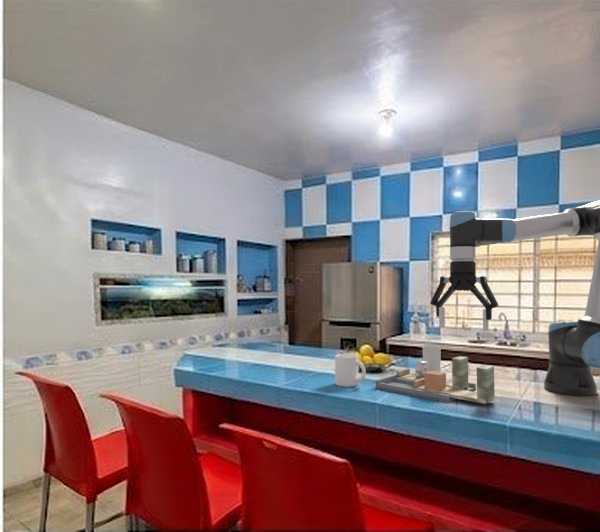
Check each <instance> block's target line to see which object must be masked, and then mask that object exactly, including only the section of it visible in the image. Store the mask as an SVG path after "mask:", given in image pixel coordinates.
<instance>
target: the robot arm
mask: <svg viewBox="0 0 600 532" xmlns="http://www.w3.org/2000/svg"><path fill="white" fill-rule="evenodd" d="M448 228H449V260H450V262H449V275H450V276H448V277H447V276H440V278H439V283H438V286H437V288H436V289H435V292H434V294H433V297H432V298H431V300H430V305H433V306H434V307H435V309H436V312H435V313H436V317H437V318H438V325H439V326H438V328H441V329H442V328H445V327H446V316H445V315H446V312H445V310H446V306H443V305H444V304H445V303H446V302H447V301H448V299H450V297H451V296H452V295H453V294H454V293H455V292H457V291H458V292H460V291H461V292H462V291H464V292H468V291H470V292H471V293H472V294H473V295H474V296H475V298H477V300H478V301H479V302H480V303H481V304H482V306H483V307H484V308H483V309H482V331H483V332H488V331H489V327H490V326H489V321H491V320H492V318H493V316H492V314H493V313H492V312H493V309H494V308H498V307H499V303H498V301H497V299H496V297H495V295H494V294H493V291H492V290H491V288H490V286H489V284H488V278H487V276H485V275H483V276H482V275H481V276H478V277H477V273H476V272H477V271H476V269H477V268H476V267H477V266H476V263H477V262H476V261H475V260H476V248H478V247H481V246H488V245H495V244H504V243H511V242H517V241H524V240H533V239H542V238H548V237H556V236H564V235H566V236H568V237H579V236H594V237H595V238H596V240H597V241H598V245H597V250H596V253H595V259H594V264H593V271H592V275H591V280H590V281H591V282H590V285H589V286H590V287H589V291H588V296H587V301H586V302H587V303H586V307H585V312H584V315H583V316H581V317H580V318H579V317H578V319H577V321H558V322H557V321H556V322H555V321H554V322H551V323H549V325H548V333H547V334H548V354H549V356H548V358H549V361H548V362H549V366H548V369H547V372H546V375H545V376H544V380H543V386H544V389H545V390H547V391H550V392H552V393H557V394H562V395H563V394H564V395H569V396H584V397H585V396H587V397H588V396H594V395H597V394H598V386H597V384H596V381H595V378H594V376H593V373H592V370H591V368H595V369H600V199H598V200H596V201H593V202H590V203H587V204H584V205H581V206H577V207H572V208H566V209H565V210H564V211H563V212H559V213H558V212H557V213H551V214H549V213H548V214H543V215H535V216H529V217H528V216H527V217H523V218H522V217H521V218H515V219H512V218H504V217H501V218H479V217H476V213H475V212H474V211H471V210H459V211H454V212H453V213H451V214H450V218H449V227H448ZM477 282H478V283H479V284H480V286H481V288H482V289H483V291H484V293H485V295H486V297H487V298H485V296H484V295H483V294H482V292H481V291H480V290H479V288H477V286H476V283H477ZM448 283H450V284H451V285H450V286H449V287H448V288H447V290H446V292H445V293H444V294H443V291H444V290H445V288H446V286H447V284H448Z"/></svg>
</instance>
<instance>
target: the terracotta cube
mask: <svg viewBox="0 0 600 532" xmlns="http://www.w3.org/2000/svg"><path fill="white" fill-rule="evenodd" d="M446 376H447V372H443V371H440V372H438V371H429V372H426V373H424V380H425V389H431V390H436V391H441V390H443V389H445V388H446V379H447V377H446Z"/></svg>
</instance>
